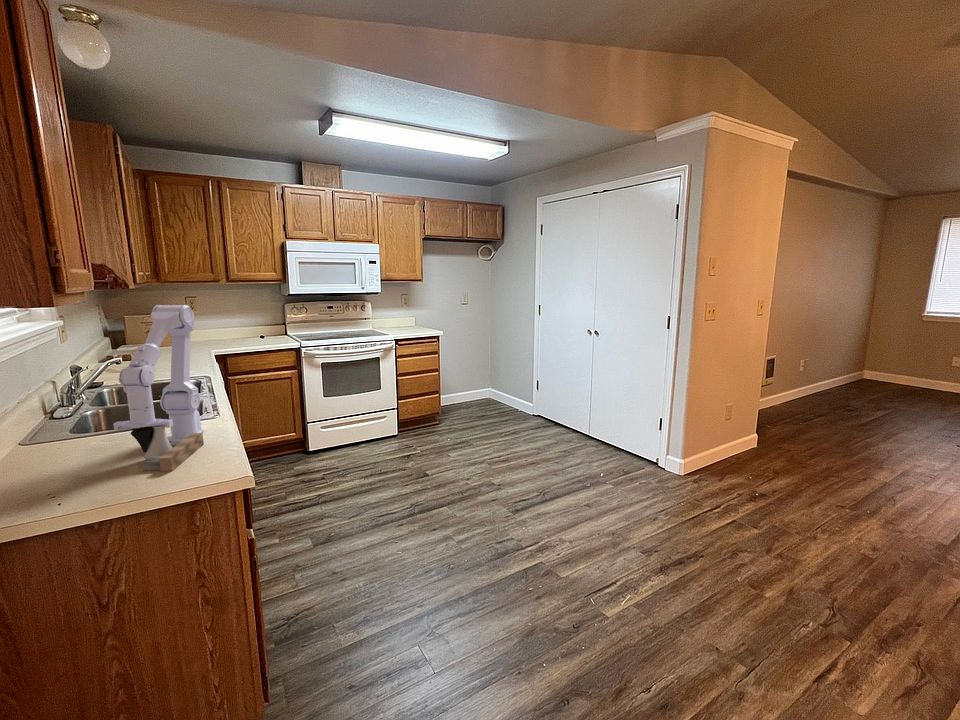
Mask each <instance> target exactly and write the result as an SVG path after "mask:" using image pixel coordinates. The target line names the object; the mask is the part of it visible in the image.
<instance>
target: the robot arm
mask: <svg viewBox="0 0 960 720" xmlns="http://www.w3.org/2000/svg"><path fill="white" fill-rule="evenodd" d="M150 319H151V322H152V324H151V327H150V329H149V332H148V335H147V337H146V340H145V343H143V344H139V345H138V347H137V349H136V350H135V353H134V354H133V357H132V359H131V361H130V362H129V365H127V366H126V367H124V368H123V369H121V371H120V373H119V378H118V382H119V384H120V385H121V387H122V389H123V392H124V393H126V398H127V406H128V411H129V412H128V413H129V420H123V421H116V422H114V423H113V430H114V431H119V430H128V429H129V430H130V429H131V432H130V435H131V436H132V437H133V438H134V439H135V441H137V443H138V444H139V446H140V449H142V452H143V454H144V453H145V454H146V452H147V450H148V448H149V445H150V443H151V440H152V438H153V433H154V428H153V427H152V426H154V425H155V427H161V426H165V429H169V428H170V434H171V436H170V437H167V438H168V440H169V442H171V441H173V440H184V439H185V438H186V437H188V436H189V435H190V434H192V433H204V432H205V429H202V426H201V415H200V412H199V411H198V408H199V406H200V403H201V398H200V394H199V388H198V387H197V386H195V385H194V384H193V383H191V382H190V381H191V380H190V377H191V375H190V374H191V373H190V371H191V344H192V343H191V337H192V334H191V333H192V332H193V331H194V329H195V328H194V325H195V324H194V323H195V313H194V312H193V310H192V308H191V306H189V305H187V304H181V305H176V304H175V305H174V304H173V305H172V304H171V305H169V304H167V305H165V304H163V305H161V304H155V306H153V308H152V310H151V312H150ZM168 333H170V335H171V359H170V360H171V361H170V362H171V365H170V366H171V367H170V383H169V384H167V385H166V386H164V387H163V388H162V394H161V397H160V401H159V403H160V404H159V405H160V407H161V409H162V410H163V411H165V414H166V415H168V419H167V418H156V416H155V414H156V413H155V408H154V400H153V391H152V384H153V383H154V381H155V378H156V368H155V366H156V365H157V364H158V363H157V362H158V360H159V359H160V357H161V354H162V353H161V350H160V349H159V348H160V346H161V344H162V343H163V341H164V340H165V338H166V336H167V335H168Z"/></svg>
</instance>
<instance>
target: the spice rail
mask: <svg viewBox="0 0 960 720" xmlns="http://www.w3.org/2000/svg"><path fill="white" fill-rule="evenodd" d="M203 433H204V432H202V433H192V434H190V435H189V436H188V437H186V438H185V439H184V440H173V441H169V442H170V444H171V446H172V449H170V450H169V451H168V452H166V453H165V454H164V455H162V456H150V457H149V458H148V459H145V460H143V461H142V466H143V467H142V468H143V471H144V472H145V471H160V472H163V473H164V472H173V471H175V470H176V469H177V468H178V467H179V466H180V465H182V464H183V463H184V462H185V461H186V460H188V459H189V458H190V457H191V456H192V455H193V454H195V453H196V452H197V451H198V450H199V449H200V448H202V447H203V445H204V444H205V443H204V435H203Z"/></svg>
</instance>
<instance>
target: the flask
mask: <svg viewBox="0 0 960 720" xmlns="http://www.w3.org/2000/svg"><path fill="white" fill-rule="evenodd" d="M152 427H153V428H154V433H153V438H152V440H151V443H150V445H149V448H148V450H147V452H146V453H145V455H144V457H143V458H144V459H145V460H146V459H148V458H149V457H150V456H162V455H164V454H165V453H166V452H168V451H169V450H170V449H172V446H171V444H170V442H171V441H169V440H168V438H169V437H168V436H167V432H166V427H165V426H161V427H155V425H154V426H152Z"/></svg>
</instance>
